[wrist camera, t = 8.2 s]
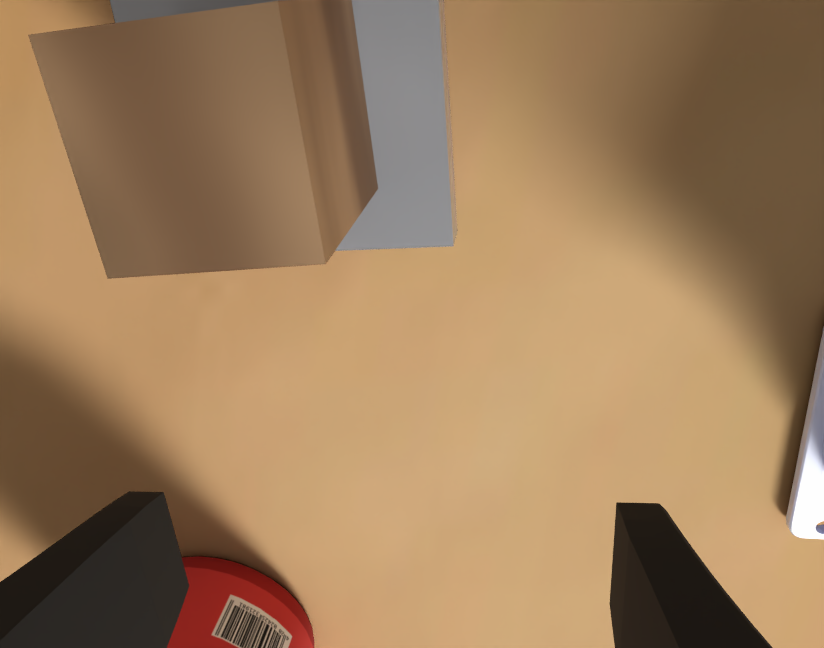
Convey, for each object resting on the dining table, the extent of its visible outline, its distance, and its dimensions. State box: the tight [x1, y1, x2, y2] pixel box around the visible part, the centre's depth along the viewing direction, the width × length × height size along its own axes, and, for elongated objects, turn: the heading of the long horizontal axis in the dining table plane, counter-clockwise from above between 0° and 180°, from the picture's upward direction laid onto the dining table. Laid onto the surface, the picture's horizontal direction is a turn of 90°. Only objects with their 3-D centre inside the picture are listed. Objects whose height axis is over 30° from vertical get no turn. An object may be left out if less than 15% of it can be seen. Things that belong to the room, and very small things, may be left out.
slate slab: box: [110, 0, 457, 251], centre depth 18 cm, size 8×8×2 cm
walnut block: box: [28, 0, 378, 279], centre depth 15 cm, size 4×4×6 cm
